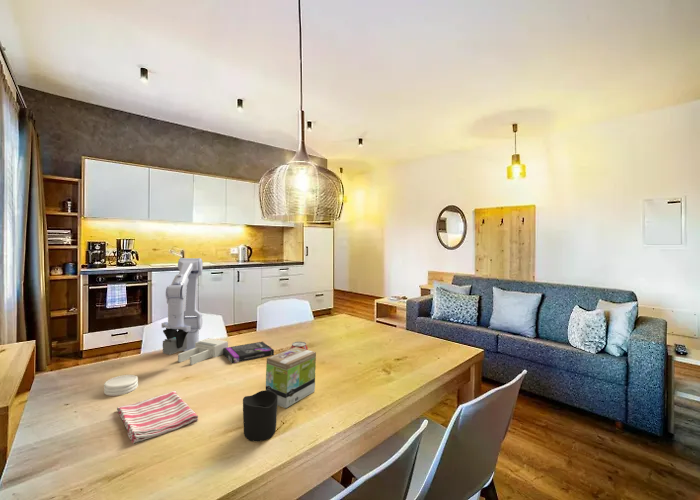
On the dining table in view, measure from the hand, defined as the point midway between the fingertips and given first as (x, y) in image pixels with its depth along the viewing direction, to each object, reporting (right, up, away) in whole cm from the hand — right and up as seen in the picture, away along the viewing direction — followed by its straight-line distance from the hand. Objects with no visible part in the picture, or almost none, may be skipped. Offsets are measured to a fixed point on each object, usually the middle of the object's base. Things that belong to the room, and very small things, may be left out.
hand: (175, 346), depth 137 cm
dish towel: (+13, -11, -36) cm, 40 cm away
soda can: (+51, -10, -2) cm, 52 cm away
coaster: (-9, -10, -19) cm, 24 cm away
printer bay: (+5, -8, +14) cm, 17 cm away
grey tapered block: (0, -2, 0) cm, 2 cm away
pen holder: (+47, -12, -44) cm, 65 cm away
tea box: (+52, -11, -22) cm, 57 cm away
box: (+25, -10, +17) cm, 32 cm away
